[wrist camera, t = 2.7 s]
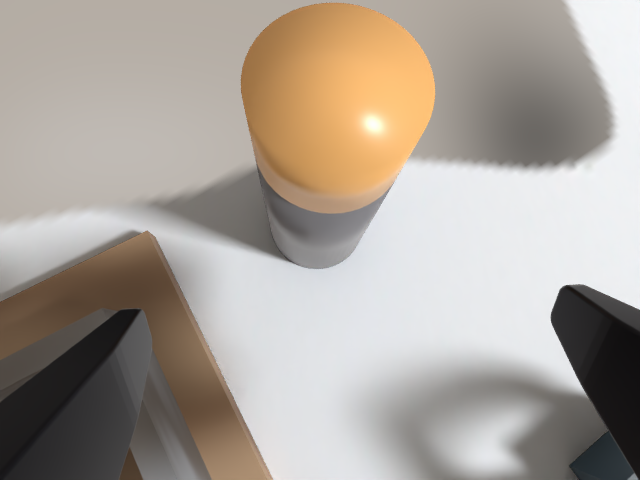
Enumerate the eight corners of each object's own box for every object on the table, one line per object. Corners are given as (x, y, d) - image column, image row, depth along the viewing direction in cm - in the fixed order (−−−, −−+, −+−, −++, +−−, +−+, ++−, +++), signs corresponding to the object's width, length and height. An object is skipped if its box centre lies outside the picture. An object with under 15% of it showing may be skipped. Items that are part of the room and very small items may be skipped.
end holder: (306, 548, 18) (309, 616, 13) (8, 748, 16) (-109, 911, 11) (155, 237, 21) (116, 206, 17) (-112, 367, 19) (-241, 374, 14)
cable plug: (374, 202, 22) (459, 43, 11) (341, 283, 21) (396, 204, 9) (293, 168, 22) (288, -23, 11) (255, 246, 21) (206, 126, 10)
